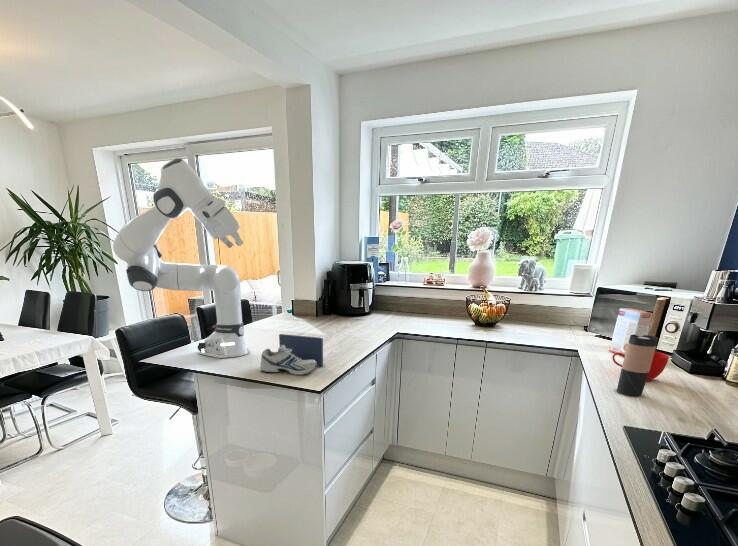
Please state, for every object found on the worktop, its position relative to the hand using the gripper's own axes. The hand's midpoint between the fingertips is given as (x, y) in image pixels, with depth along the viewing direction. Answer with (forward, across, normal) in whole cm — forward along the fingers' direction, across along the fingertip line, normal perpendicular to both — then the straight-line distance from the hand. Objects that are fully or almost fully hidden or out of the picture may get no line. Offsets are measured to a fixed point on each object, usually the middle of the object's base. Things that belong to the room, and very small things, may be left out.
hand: (236, 245), depth 135 cm
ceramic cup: (+120, +77, +67) cm, 158 cm away
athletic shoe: (+49, -2, -15) cm, 51 cm away
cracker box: (+140, +60, +96) cm, 180 cm away
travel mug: (+107, +83, +50) cm, 145 cm away
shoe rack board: (+54, -9, -7) cm, 55 cm away
